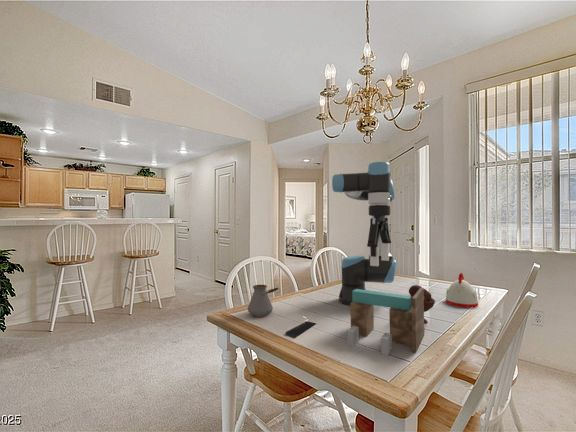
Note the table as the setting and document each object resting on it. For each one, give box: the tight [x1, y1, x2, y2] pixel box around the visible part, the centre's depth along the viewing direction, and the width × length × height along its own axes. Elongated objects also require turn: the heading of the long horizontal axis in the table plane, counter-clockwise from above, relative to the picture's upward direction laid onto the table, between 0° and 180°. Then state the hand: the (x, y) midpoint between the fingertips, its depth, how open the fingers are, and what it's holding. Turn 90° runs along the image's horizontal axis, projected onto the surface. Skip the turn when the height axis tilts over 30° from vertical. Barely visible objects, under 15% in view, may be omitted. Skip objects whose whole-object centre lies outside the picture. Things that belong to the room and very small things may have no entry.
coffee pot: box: [247, 284, 280, 318], centre depth 127 cm, size 21×12×15 cm, turn 35°
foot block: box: [349, 302, 375, 338], centre depth 108 cm, size 6×8×12 cm
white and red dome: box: [445, 272, 479, 309], centre depth 144 cm, size 14×14×15 cm
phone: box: [285, 321, 317, 339], centre depth 111 cm, size 8×1×15 cm
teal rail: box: [352, 289, 412, 311], centre depth 104 cm, size 20×4×9 cm, turn 56°
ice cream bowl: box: [408, 284, 436, 325], centre depth 120 cm, size 11×11×15 cm
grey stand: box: [347, 326, 393, 357], centre depth 94 cm, size 13×5×6 cm, turn 56°
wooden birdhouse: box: [389, 287, 425, 354], centre depth 99 cm, size 9×16×18 cm, turn 146°
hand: (380, 263), depth 105 cm, fingers open, 13 cm apart
